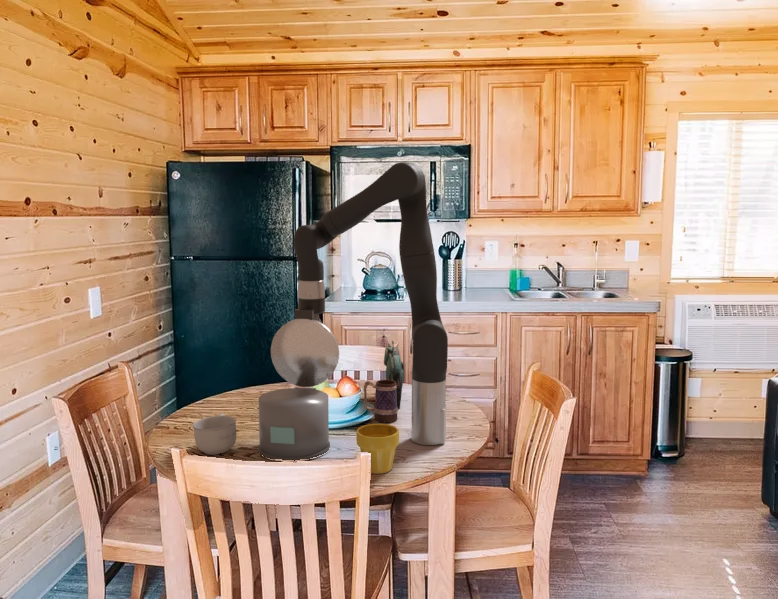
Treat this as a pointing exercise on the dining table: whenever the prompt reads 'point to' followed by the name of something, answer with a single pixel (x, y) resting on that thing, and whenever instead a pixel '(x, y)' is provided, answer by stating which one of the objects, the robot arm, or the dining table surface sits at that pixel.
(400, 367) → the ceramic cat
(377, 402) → the mug
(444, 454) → the dining table surface
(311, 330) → the cooker lid
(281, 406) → the cooker
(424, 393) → the robot arm
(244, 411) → the dining table surface
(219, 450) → the teacup
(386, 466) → the plant pot
